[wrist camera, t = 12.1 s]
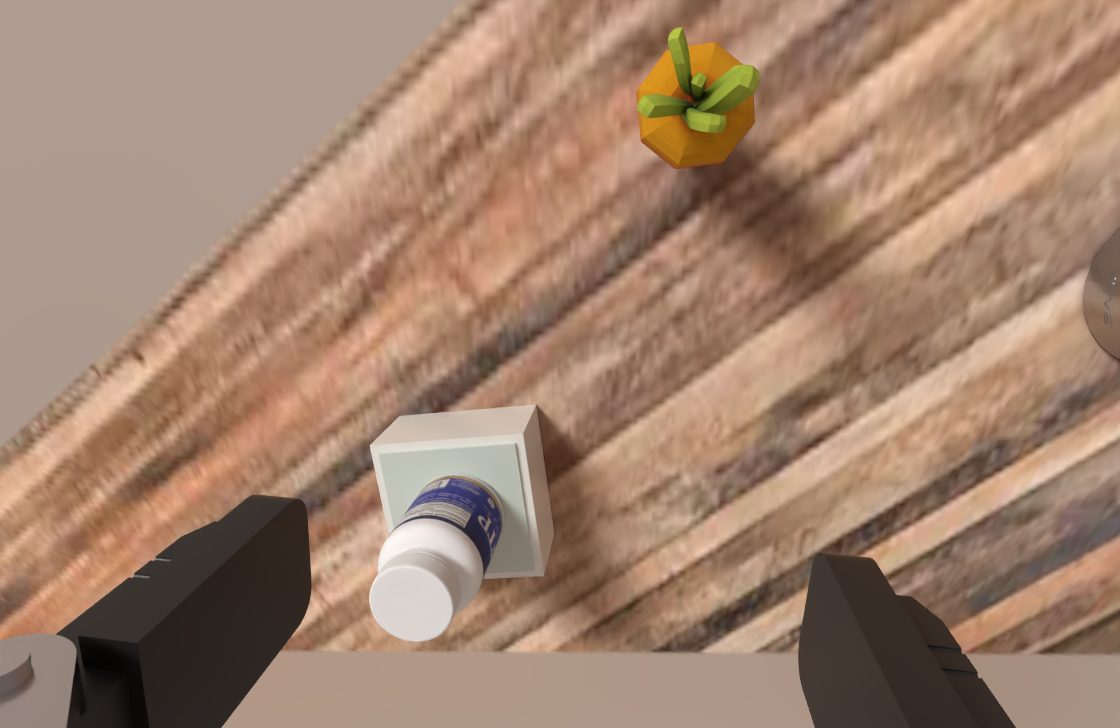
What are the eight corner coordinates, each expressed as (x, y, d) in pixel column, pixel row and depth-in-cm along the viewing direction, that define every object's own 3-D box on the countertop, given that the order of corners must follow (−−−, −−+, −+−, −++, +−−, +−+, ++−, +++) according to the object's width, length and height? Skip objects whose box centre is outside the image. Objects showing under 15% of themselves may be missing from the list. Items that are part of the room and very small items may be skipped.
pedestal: (536, 404, 42) (522, 434, 37) (554, 533, 44) (543, 578, 39) (399, 415, 43) (368, 446, 38) (424, 540, 45) (397, 584, 40)
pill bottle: (503, 558, 39) (465, 663, 31) (416, 547, 40) (354, 647, 31) (507, 475, 38) (469, 561, 29) (417, 465, 38) (353, 547, 30)
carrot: (624, 160, 37) (614, 147, 23) (650, 67, 36) (657, -8, 22) (709, 183, 37) (754, 185, 23) (739, 91, 36) (806, 30, 21)
